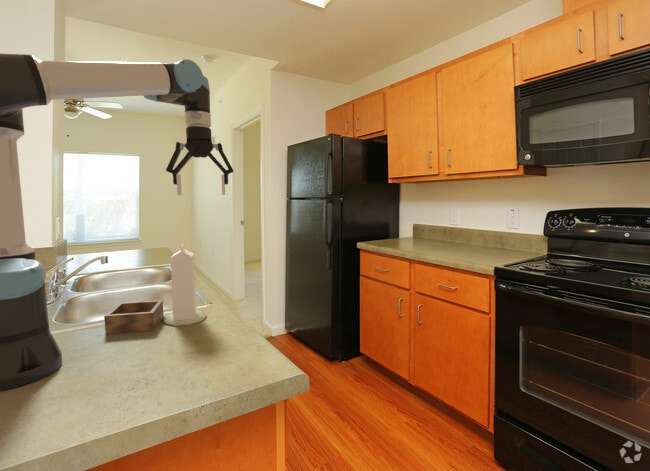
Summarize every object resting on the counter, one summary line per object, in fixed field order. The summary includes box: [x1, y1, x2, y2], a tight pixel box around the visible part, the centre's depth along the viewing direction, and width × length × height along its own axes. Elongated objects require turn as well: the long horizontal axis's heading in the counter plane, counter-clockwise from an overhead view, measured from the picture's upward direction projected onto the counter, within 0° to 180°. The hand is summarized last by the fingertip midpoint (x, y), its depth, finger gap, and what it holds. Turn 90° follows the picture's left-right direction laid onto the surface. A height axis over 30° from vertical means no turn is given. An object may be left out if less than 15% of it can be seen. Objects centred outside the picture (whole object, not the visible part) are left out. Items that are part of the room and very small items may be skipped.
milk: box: [170, 243, 197, 321], centre depth 104 cm, size 6×6×22 cm
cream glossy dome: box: [163, 309, 207, 327], centre depth 106 cm, size 12×12×1 cm
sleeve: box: [104, 299, 164, 335], centre depth 100 cm, size 12×12×5 cm
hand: (202, 195), depth 112 cm, fingers open, 13 cm apart
